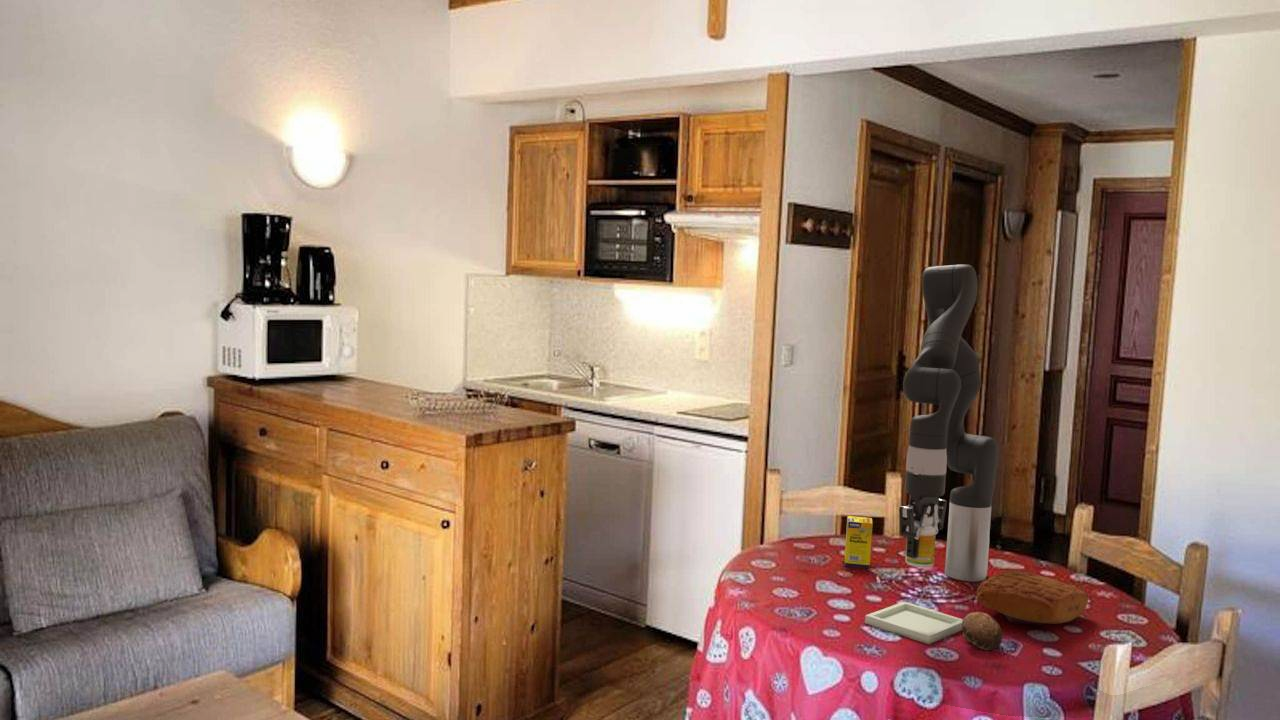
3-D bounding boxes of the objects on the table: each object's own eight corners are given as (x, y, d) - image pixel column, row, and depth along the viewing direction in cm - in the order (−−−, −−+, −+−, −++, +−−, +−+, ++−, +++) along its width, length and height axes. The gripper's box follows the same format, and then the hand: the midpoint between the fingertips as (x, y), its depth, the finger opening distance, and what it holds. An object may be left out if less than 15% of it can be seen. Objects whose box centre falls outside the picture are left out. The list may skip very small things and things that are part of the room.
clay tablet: (1050, 643, 188) (1053, 602, 187) (966, 618, 200) (968, 580, 199) (1093, 618, 203) (1097, 580, 203) (1013, 596, 215) (1016, 561, 215)
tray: (903, 609, 204) (904, 601, 204) (966, 628, 194) (966, 620, 193) (865, 623, 194) (865, 615, 194) (928, 644, 184) (929, 636, 184)
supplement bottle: (937, 568, 190) (940, 519, 189) (909, 567, 190) (912, 518, 190) (929, 560, 196) (932, 512, 195) (902, 559, 196) (905, 511, 195)
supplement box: (870, 568, 232) (873, 523, 231) (844, 566, 233) (847, 521, 232) (869, 562, 238) (872, 517, 237) (844, 559, 239) (847, 515, 238)
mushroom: (949, 618, 189) (968, 598, 186) (985, 634, 190) (1004, 614, 187) (954, 650, 183) (974, 631, 179) (991, 667, 184) (1012, 647, 180)
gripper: (928, 462, 199) (922, 544, 200) (888, 470, 189) (883, 556, 191) (962, 469, 194) (956, 553, 195) (923, 476, 184) (917, 565, 185)
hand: (920, 554), depth 193 cm, fingers closed on supplement bottle, 5 cm apart
